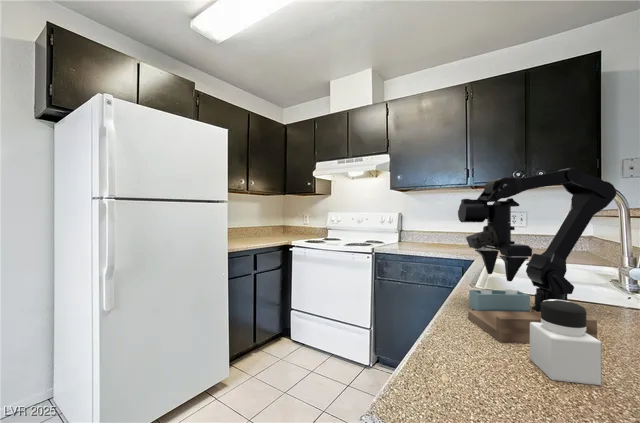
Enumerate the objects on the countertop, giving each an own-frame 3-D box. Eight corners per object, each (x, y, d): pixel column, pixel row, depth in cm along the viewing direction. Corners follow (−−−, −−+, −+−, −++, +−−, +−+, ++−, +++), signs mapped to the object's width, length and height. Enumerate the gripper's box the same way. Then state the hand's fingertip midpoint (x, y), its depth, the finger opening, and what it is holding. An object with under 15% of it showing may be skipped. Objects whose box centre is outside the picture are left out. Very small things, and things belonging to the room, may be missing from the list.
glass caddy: (517, 307, 84) (517, 288, 84) (529, 313, 79) (529, 293, 79) (469, 306, 84) (469, 288, 84) (478, 312, 79) (478, 292, 79)
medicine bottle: (602, 386, 45) (602, 310, 46) (551, 380, 47) (551, 307, 47) (572, 363, 52) (572, 297, 53) (528, 359, 54) (529, 295, 54)
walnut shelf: (546, 319, 74) (546, 300, 74) (597, 344, 60) (597, 320, 60) (468, 318, 75) (468, 299, 75) (500, 342, 61) (500, 319, 61)
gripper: (455, 221, 91) (455, 270, 91) (488, 223, 73) (488, 285, 72) (491, 221, 91) (491, 271, 91) (533, 223, 72) (533, 285, 72)
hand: (499, 277), depth 82 cm, fingers open, 9 cm apart
